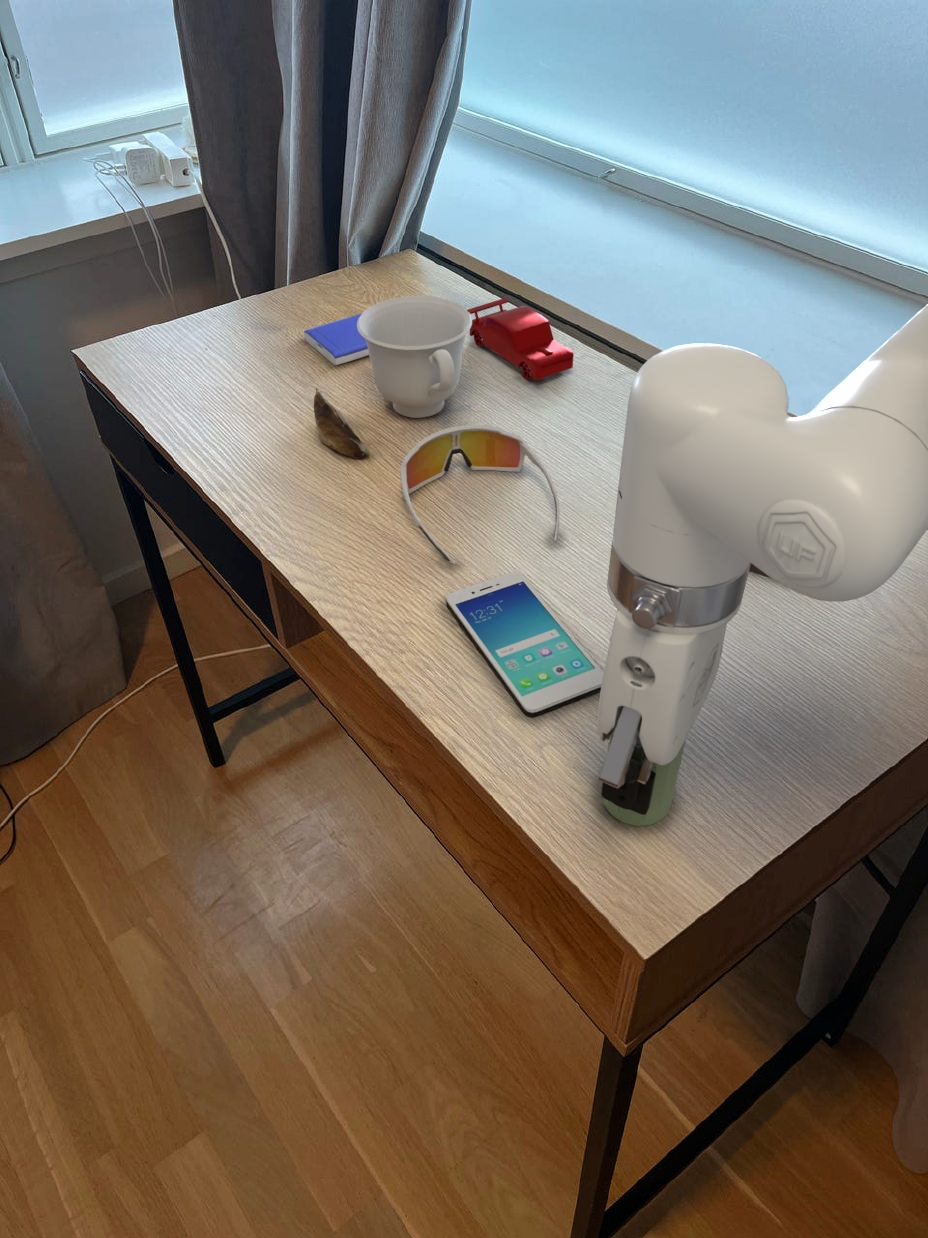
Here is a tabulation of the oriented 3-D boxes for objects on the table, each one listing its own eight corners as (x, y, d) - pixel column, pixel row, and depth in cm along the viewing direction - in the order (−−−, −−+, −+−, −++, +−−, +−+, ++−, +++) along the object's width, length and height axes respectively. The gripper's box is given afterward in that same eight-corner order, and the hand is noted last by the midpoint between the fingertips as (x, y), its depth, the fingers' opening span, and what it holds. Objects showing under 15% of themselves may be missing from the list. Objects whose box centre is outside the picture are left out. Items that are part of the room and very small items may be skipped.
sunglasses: (518, 451, 100) (522, 412, 96) (574, 553, 91) (581, 515, 87) (386, 477, 97) (384, 439, 93) (430, 586, 88) (430, 548, 84)
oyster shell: (357, 480, 104) (305, 406, 105) (384, 458, 103) (331, 385, 104) (338, 473, 98) (283, 395, 99) (367, 450, 98) (311, 372, 99)
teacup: (397, 458, 99) (391, 370, 93) (349, 391, 109) (340, 307, 103) (502, 431, 103) (504, 344, 96) (447, 369, 113) (444, 286, 106)
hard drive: (391, 302, 123) (303, 328, 118) (425, 326, 117) (334, 354, 113) (392, 314, 124) (305, 340, 119) (425, 338, 119) (336, 367, 114)
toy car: (466, 341, 118) (466, 302, 115) (503, 328, 120) (504, 290, 117) (535, 388, 109) (536, 348, 106) (573, 374, 112) (576, 334, 108)
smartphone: (527, 713, 72) (441, 594, 82) (527, 720, 73) (442, 602, 83) (611, 680, 75) (518, 569, 85) (610, 687, 75) (518, 576, 85)
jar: (680, 786, 68) (698, 711, 63) (656, 836, 65) (672, 761, 60) (617, 760, 70) (629, 685, 65) (591, 808, 67) (600, 733, 62)
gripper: (689, 692, 47) (646, 894, 59) (786, 508, 58) (732, 712, 70) (549, 641, 50) (536, 844, 62) (667, 474, 60) (635, 676, 73)
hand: (640, 772), depth 66 cm, fingers closed on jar, 4 cm apart
